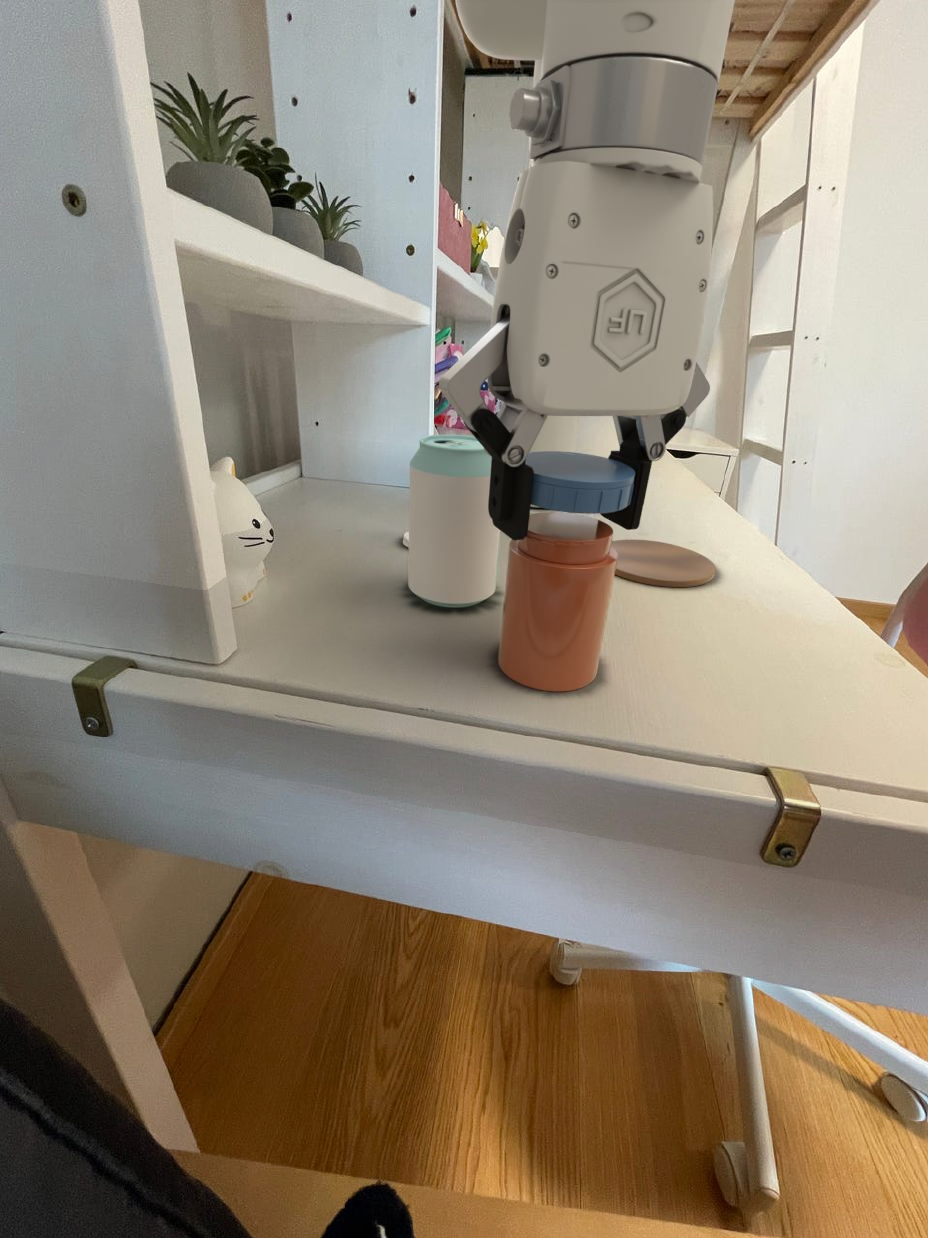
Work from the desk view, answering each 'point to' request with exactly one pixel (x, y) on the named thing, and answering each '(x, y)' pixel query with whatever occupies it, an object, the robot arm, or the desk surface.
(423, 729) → the desk surface
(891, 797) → the desk surface
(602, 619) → the jar
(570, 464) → the lid
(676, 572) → the coaster
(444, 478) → the can
